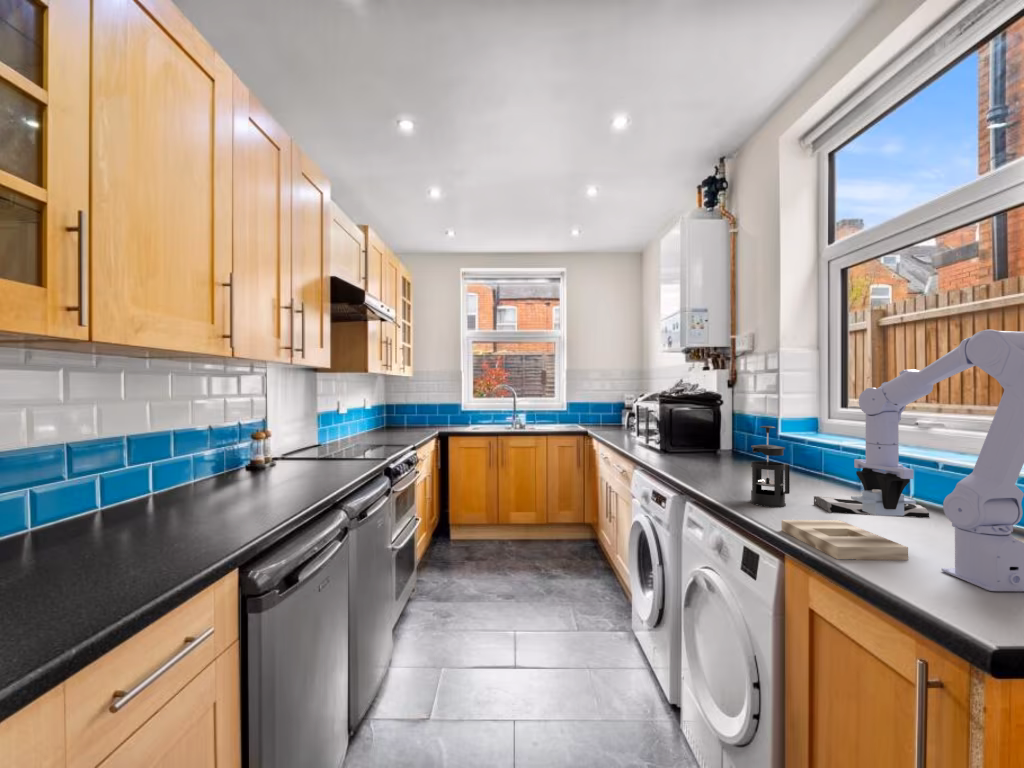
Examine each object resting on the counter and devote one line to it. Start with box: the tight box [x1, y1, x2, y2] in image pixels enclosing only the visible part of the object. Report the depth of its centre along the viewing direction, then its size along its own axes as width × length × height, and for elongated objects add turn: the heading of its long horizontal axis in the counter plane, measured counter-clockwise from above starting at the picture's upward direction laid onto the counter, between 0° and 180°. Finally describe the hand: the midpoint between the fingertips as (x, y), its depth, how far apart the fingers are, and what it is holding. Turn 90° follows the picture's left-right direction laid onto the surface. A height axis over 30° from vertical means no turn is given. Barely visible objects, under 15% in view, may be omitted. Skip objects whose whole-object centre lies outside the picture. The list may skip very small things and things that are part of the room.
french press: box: [749, 425, 791, 508], centre depth 144 cm, size 12×9×23 cm
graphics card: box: [813, 495, 930, 518], centre depth 136 cm, size 10×3×25 cm
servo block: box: [850, 489, 917, 517], centre depth 105 cm, size 4×11×5 cm, turn 89°
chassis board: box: [781, 519, 909, 561], centre depth 106 cm, size 20×14×2 cm
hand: (881, 506), depth 105 cm, fingers closed on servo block, 4 cm apart
